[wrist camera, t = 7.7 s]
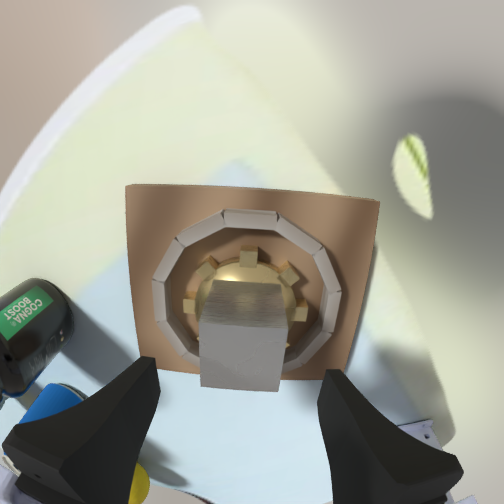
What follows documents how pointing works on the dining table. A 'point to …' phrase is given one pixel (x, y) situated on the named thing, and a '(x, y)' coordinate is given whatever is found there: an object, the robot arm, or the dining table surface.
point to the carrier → (269, 248)
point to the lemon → (139, 485)
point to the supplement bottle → (30, 333)
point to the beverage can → (47, 408)
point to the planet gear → (244, 320)
